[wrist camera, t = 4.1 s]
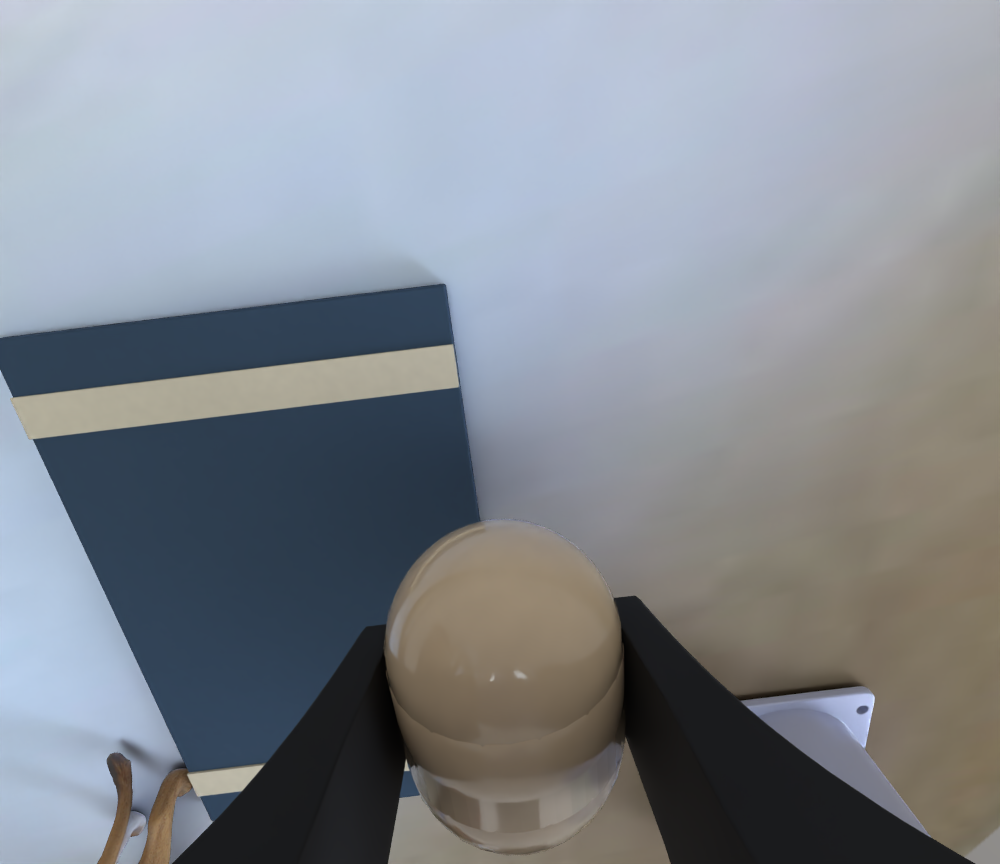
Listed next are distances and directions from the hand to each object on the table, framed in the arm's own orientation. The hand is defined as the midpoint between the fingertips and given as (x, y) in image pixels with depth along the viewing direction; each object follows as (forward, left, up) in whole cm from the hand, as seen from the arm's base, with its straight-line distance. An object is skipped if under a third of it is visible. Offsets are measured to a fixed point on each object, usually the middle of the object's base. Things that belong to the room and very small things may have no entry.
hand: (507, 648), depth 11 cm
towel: (-4, +8, -8) cm, 12 cm away
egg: (0, 0, -1) cm, 1 cm away
